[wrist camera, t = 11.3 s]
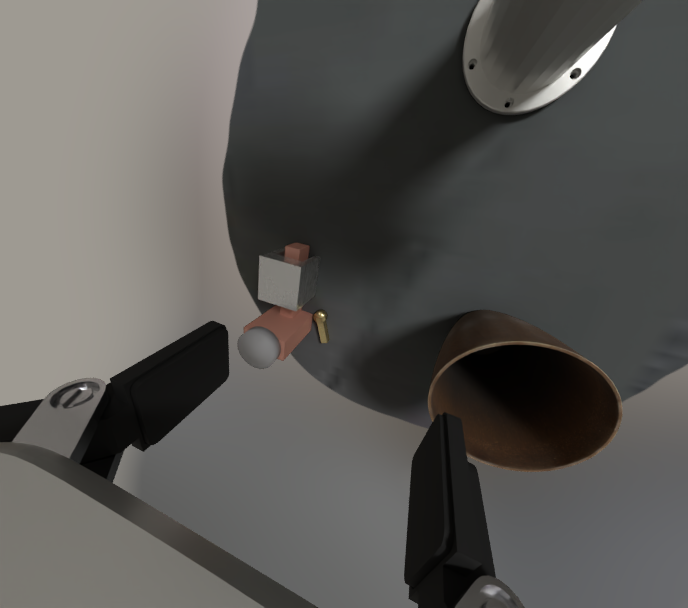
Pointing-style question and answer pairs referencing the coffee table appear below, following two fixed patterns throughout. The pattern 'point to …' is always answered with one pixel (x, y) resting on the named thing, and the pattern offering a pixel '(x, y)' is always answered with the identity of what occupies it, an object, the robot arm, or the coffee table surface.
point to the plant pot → (522, 395)
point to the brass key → (322, 325)
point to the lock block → (287, 279)
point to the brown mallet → (276, 327)
